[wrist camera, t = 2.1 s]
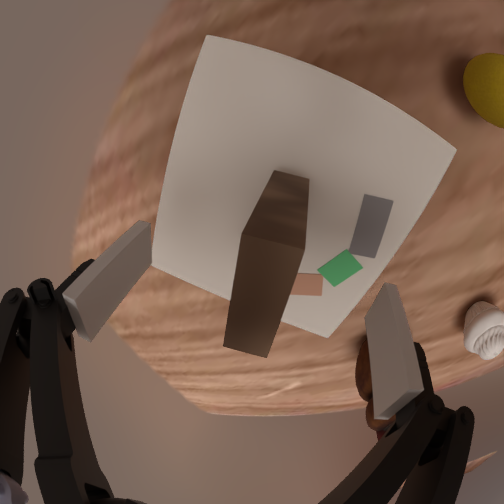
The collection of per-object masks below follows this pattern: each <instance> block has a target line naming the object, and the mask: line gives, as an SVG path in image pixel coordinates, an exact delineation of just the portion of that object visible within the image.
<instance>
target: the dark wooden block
mask: <svg viewBox="0 0 504 504" xmlns="http://www.w3.org/2000/svg"><path fill="white" fill-rule="evenodd" d="M308 199H309V179H308V178H304V177H300V176H297V175H293V174H289V173H284V172H280V171H276V170H274V171H273V173H272V175H271V177H270V179H269V181H268V183H267V185H266V187H265V188H264V190H263V192H262V194H261V196H260V198H259V200H258V202H257V204H256V206H255V208H254V210H253V212H252V214H251V216H250V218H249V220H248V222H247V224H246V226H245V228H244V229H243V231H242V233H241V239H240V245H239V251H238V257H237V263H236V269H235V275H234V281H233V287H232V293H231V299H230V306H229V312H228V318H227V324H226V331H225V337H224V344H223V346H224V347H227V348H231V349H234V350H238V351H242V352H245V353H249V354H253V355H257V356H261V357H265V358H267V356H268V353H269V351H270V348H271V345H272V343H273V340H274V337H275V335H276V332H277V329H278V327H279V324H280V321H281V318H282V316H283V313H284V310H285V307H286V305H287V302H288V299H289V296H290V293H291V290H292V287H293V285H294V282H295V279H296V276H297V273H298V270H299V267H300V264H301V261H302V258H303V255H304V252H305V245H306V231H307V216H308Z"/></svg>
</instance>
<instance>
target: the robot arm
mask: <svg viewBox="0 0 504 504" xmlns="http://www.w3.org/2000/svg"><path fill="white" fill-rule="evenodd" d="M151 264H152V249H151V223H148V222H144V221H140V220H139V221H138V222H137V223H135V224H134V225H133V226H132V227H131V228H130V229H129V230H127V231H126V232H125V233H124V234H123V235H122V236H121V237H120V238H118V239H117V240H116V241H115V242H114V243H113V244H112V245H111V246H110V247H109V248H108V249H106V250H105V251H104V252H103V253H102V254H101V255H100V256H99V257H98V258H97V259H96V260H94V259H90V260H88V261H86V262H84V263H82V264H81V265H80V266H79V267H78V268H77V269H76V271H74V272H73V273H72V274H71V276H69V277H68V278H67V279H66V280H65V281H64V282H63V283H62V284H61V285H60V286H59V287H58V288H57V289H56V290H54V288H53V285H52V282H51V281H50V280H49V279H46V278H40V279H37V280H35V281H33V282H32V283H31V284H30V285H29V286H28V289H27V292H28V294H29V296H30V298H29V297H25V295H24V292H23V291H22V290H21V289H20V288H13V289H11V290H9V291H8V292H7V293H5V295H4V296H3V299H2V301H1V303H0V504H25V503H27V502H28V500H29V499H28V495H27V494H26V492H25V491H23V490H22V488H21V484H22V477H23V463H24V432H25V419H26V410H27V402H28V395H29V388H30V390H31V404H32V414H33V422H34V429H35V435H36V441H37V446H38V453H39V455H38V457H37V458H36V460H35V463H34V466H35V472H36V476H37V480H38V483H39V487H40V490H41V494H42V497H43V500H44V503H45V504H146V503H143V502H141V501H136V500H132V499H122V498H114V495H113V493H112V490H111V488H110V485H109V483H108V481H107V479H106V477H105V476H104V474H103V473H102V471H101V469H100V467H99V465H98V461H97V458H96V455H95V452H94V448H93V445H92V441H91V438H90V435H89V430H88V426H87V422H86V418H85V413H84V409H83V404H82V398H81V393H80V387H79V381H78V374H77V368H76V359H75V349H74V338H73V334H72V332H73V331H74V330H75V328H76V330H77V333H78V335H79V336H80V337H82V338H83V339H85V340H87V341H89V342H92V340H93V339H94V338H95V336H96V335H97V333H98V332H99V330H100V329H101V328H102V327H103V325H104V324H105V322H106V321H107V320H108V318H109V317H110V316H111V314H112V313H113V312H114V310H115V309H116V308H117V307H118V305H119V304H120V303H121V301H122V300H123V299H124V297H125V296H126V295H127V294H128V292H129V291H130V290H131V289H132V287H133V286H134V285H135V283H136V282H137V281H138V280H139V279H140V277H141V276H142V275H143V274H144V272H145V271H146V270H147V269H148V267H149V266H150V265H151ZM365 324H366V332H367V339H368V347H369V356H370V366H371V376H372V389H373V404H374V419H387V420H388V419H389V418H391V417H392V416H393V415H396V421H394V422H393V423H392V424H390V425H389V426H387V427H386V428H385V429H384V431H386V430H387V429H388V430H387V431H386V432H385V433H384V435H383V436H382V437H381V439H380V440H379V441H378V442H377V443H376V445H375V446H374V447H373V448H372V450H371V451H370V452H369V453H368V454H367V455H366V457H365V458H364V459H363V460H362V461H361V462H360V463H359V464H358V465H357V466H356V467H355V469H354V470H353V471H352V472H351V473H350V474H349V475H348V476H347V477H346V478H345V479H344V480H343V481H342V482H341V483H340V484H339V485H338V486H337V487H336V488H335V489H334V490H333V491H332V492H330V493H329V494H328V495H327V496H326V497H325V498H324V499H323V500H322V501H320V502H319V503H318V504H387V503H388V502H389V501H390V500H391V498H392V497H393V496H394V494H395V493H396V492H397V490H398V489H399V488H400V486H401V485H402V484H403V482H404V481H405V480H406V481H405V484H404V486H403V488H402V490H401V492H400V494H399V497H398V499H397V501H396V503H395V504H455V501H456V498H457V495H458V492H459V489H460V486H461V482H462V479H463V476H464V472H465V468H466V464H467V460H468V455H469V451H470V446H471V440H472V434H473V429H474V414H473V412H472V411H471V409H469V408H468V407H466V406H462V407H460V408H459V409H458V410H456V411H454V410H451V409H449V408H446V407H445V405H444V403H443V400H442V399H441V398H440V397H439V396H437V395H435V394H434V391H433V386H432V381H431V377H430V372H429V369H428V364H427V362H426V356H425V352H424V350H423V349H422V347H421V345H420V344H419V343H416V342H413V339H412V335H411V332H410V328H409V324H408V321H407V318H406V314H405V311H404V308H403V304H402V301H401V298H400V295H399V292H398V289H397V286H396V285H393V284H389V283H384V285H383V286H382V288H381V290H380V292H379V294H378V295H377V297H376V299H375V301H374V302H373V304H372V306H371V308H370V309H369V311H368V313H367V314H366V316H365ZM17 330H18V331H17ZM16 333H17V334H16ZM406 478H407V479H406Z"/></svg>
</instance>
